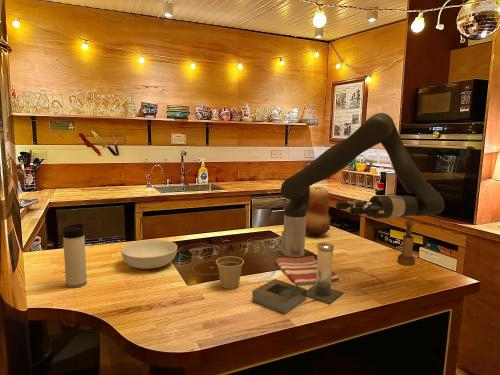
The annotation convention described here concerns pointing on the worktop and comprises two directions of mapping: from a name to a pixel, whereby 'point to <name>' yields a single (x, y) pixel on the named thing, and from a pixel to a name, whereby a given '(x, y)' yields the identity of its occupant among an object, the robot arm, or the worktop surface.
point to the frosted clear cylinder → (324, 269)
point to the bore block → (283, 303)
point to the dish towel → (302, 270)
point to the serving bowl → (149, 253)
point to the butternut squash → (318, 211)
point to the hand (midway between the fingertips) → (343, 208)
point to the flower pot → (229, 271)
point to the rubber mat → (325, 299)
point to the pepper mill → (407, 246)
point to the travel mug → (74, 255)
